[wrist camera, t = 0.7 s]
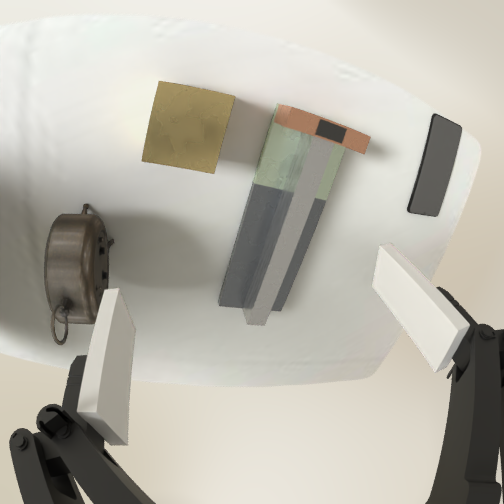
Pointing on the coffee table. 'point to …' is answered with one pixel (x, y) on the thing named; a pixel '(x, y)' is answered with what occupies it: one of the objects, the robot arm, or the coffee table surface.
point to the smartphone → (435, 167)
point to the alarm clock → (76, 269)
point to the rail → (254, 247)
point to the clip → (187, 127)
